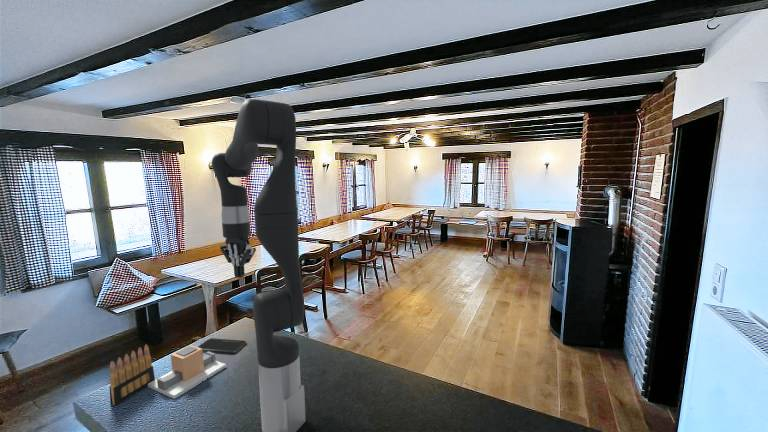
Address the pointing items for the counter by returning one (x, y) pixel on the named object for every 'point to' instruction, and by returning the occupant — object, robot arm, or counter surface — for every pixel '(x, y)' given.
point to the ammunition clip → (130, 376)
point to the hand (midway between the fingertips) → (239, 276)
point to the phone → (222, 346)
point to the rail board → (176, 387)
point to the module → (188, 362)
